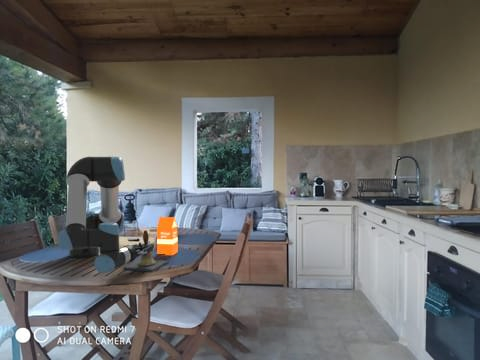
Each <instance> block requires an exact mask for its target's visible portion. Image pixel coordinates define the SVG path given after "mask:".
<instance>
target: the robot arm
mask: <svg viewBox="0 0 480 360" xmlns="http://www.w3.org/2000/svg"><path fill="white" fill-rule="evenodd" d="M124 167H125V166H124V162H123V158H122V157H120V156H113V155H112V156H86V157H82V158H79V159H78V160H77V161H75V162H74V164H72V165H71V167H70V168H69V169H68V171H67V175H66V180H65V181H66V185H67V186H68V190H67V202H66V216H65V226H64V227H65V229H64V230H60V231H59V233H58V236H57V237H58V239H57V242H58V244H57V245H58V248H59V249H60V250H61V251H68V257H70V258H74V259H80V258H83V259H84V258H89V257H94V256H96V258H95V259H94V263H93V265H94V268H95V271H97V272H98V273H99V274H108V273H109V272H113V271H115V270H117V269H118V268H122V267H123V266H126V265H129V264H131V263H133V262H135V260H136V258H137V257H139V256H142V254H143V255H144V256H146V255H147V254H148V253H150V252H151V253H152V251H154V248H156V247H157V240H156V241H152V242H151V241H150V240H148V244H147V245H146V246H144V242H143V243H142V242H138V244H137V243H134V244H132V245H127V244H126V245H124V246H122V247H120V233H122V232H123V231H124V226H125V213H124V212H123V211H122V210H121V209H119V206H120V205H119V200H120V199H119V192H120V191H119V187H120V185H121V184H122V182H123V181H125V180H126V177H125V176H126V175H125V168H124ZM90 182H96V183H97V185H98V186H99V187H100V189H99V190H100V206H101V209H100V210H99V212H97V213H96V212H95V210H87V208H88V207H87V201H88V186H89V185H90ZM98 253H99V254H98Z"/></svg>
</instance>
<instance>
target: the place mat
mask: <svg viewBox="0 0 480 360" xmlns="http://www.w3.org/2000/svg"><path fill="white" fill-rule="evenodd" d="M140 260H141V258H140V259H138V260H136V261H133V262H131V263H129V264H126V265H124V267H123V270H127V271H128V270H131V271H142V272H152V273H153V272H154V271H157V270H158V269H159V268H162V267H164V266H165V265H167V264H168V263H169V260H161V259H153V260H154V261H155V262H156V263H155V264H153V265H149V266H140V265H138V262H139V261H140ZM166 263H167V264H166ZM164 264H165V265H164ZM163 265H164V266H163ZM161 266H162V267H161Z"/></svg>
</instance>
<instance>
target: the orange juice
mask: <svg viewBox="0 0 480 360" xmlns="http://www.w3.org/2000/svg"><path fill="white" fill-rule="evenodd" d="M178 241H179V240H178V224H177V222H176V218H175V217H174V216H172V217H171V216H160V217H159V219H158V222H157V228H156V247H157V249H156V250H157V254H165V255H164V256H174V255H175V254H177V253H178V250H179V249H178V246H179V245H178Z"/></svg>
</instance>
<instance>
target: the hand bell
mask: <svg viewBox="0 0 480 360" xmlns="http://www.w3.org/2000/svg"><path fill="white" fill-rule="evenodd" d="M149 239H150V238H149V233H148V230H145V229H144V231H143V233H142V240H143V243H144V246H146V245H147V244H148V241H149ZM140 256H141V257H140V259H141V260H140V259H139V260H140V261H139V262H138V265H140V266H149V265H153V264H155V263H156V262H155V261H154V260H155V259H154V258H153V256H152V251H151V252H150V253H148V254H147V255H146V256H144V255H143V254H141V255H140Z"/></svg>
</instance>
